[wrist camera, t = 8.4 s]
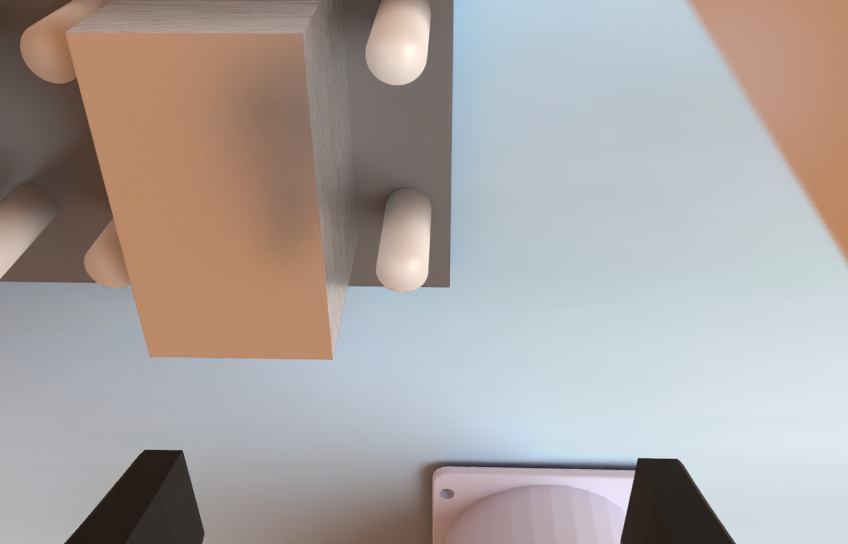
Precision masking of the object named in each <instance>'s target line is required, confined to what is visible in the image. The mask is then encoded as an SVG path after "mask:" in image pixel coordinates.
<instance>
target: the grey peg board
mask: <svg viewBox="0 0 848 544" xmlns="http://www.w3.org/2000/svg"><path fill="white" fill-rule="evenodd" d="M110 1H112V0H0V281H10V282H84V283H99V284H101V285H103V286H105V287H109V288H123V287H126V286H128V285H130V284H131V283H130V279H129V275H128V272H127V268H126V264H125V260H124V256H123V252H122V249H121V245H120V241H119V237H118V233H117V229H116V226H115V222H114V218H113V214H112V210H111V207H110V203H109V199H108V195H107V191H106V187H105V184H104V180H103V176H102V172H101V168H100V164H99V161H98V157H97V153H96V149H95V145H94V141H93V138H92V134H91V130H90V126H89V122H88V118H87V115H86V111H85V107H84V103H83V99H82V96H81V92H80V88H79V84H78V80H77V76H76V73H75V69H74V65H73V61H72V57H71V53H70V50H69V46H68V42H67V38H66V34H65V32H67V31H68V30H70V29H71V28H73V27H74V26H75V25H77V24H78V23H80V22H81V21H83V20H84V19H86V18H87V17H89V16H90V15H91V14H93V13H94V12H96V11H97V10H99V9H100V8H102V7H103V6H105V5H106V4H108V3H109V2H110ZM342 4H343V19H344V35H345V51H346V67H347V82H348V98H349V114H350V130H351V145H352V161H353V177H354V193H355V208H356V224H357V245H356V250H355V255H354V260H353V265H352V270H351V274H350V279H349V284H348V286H382V287H386V288H388V289H390V290H392V291H396V292H410V291H413V290H416V289H418V288H419V287H450V221H451V146H452V72H453V0H342Z"/></svg>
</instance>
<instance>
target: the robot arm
mask: <svg viewBox="0 0 848 544" xmlns="http://www.w3.org/2000/svg"><path fill="white" fill-rule="evenodd" d="M443 489H450V490H443ZM432 506H433V544H736V543H735V542H734V540H733V539H732V538H731V536H730V535H729V533H728V532H727V530H726V529H725V527H724V526H723V524H722V523H721V522H720V520H719V519H718V517H717V516H716V514H715V513H714V511H713V510H712V508H711V507H710V505H709V504H708V502H707V501H706V499H705V498H704V496H703V495H702V493H701V492H700V490H699V489H698V487H697V486H696V484H695V482H694V481H693V479H692V478H691V476H690V475H689V473H688V471H687V470H686V468H685V467H684V465H683V464H682V463H681V462H680V461H679V460H678V459H652V458H638V461H637V466H636V470H593V469H545V468H498V467H450V466H447V467H441V468H439V469H437V470H436V471H435V472H434V473H433V482H432ZM203 537H204V529H203V525H202V522H201V518H200V514H199V510H198V507H197V503H196V499H195V495H194V491H193V488H192V484H191V480H190V476H189V472H188V469H187V465H186V461H185V457H184V453H183V450H144V451H143V452H142V453H141V454H140V455H139V456H138V457H137V458H136V460H135V461H134V462H133V463H132V464H131V466H130V467H129V468H128V469H127V470H126V472H125V473H124V474H123V475H122V477H121V478H120V479H119V480H118V481H117V483H116V484H115V485H114V486H113V487H112V489H111V490H110V491H109V492H108V493H107V495H106V496H105V497H104V498H103V499H102V501H101V502H100V503H99V504H98V505H97V507H96V508H95V509H94V510H93V511H92V512H91V514H90V515H89V516H88V517H87V518H86V519H85V521H84V522H83V523H82V524H81V525H80V526H79V528H78V529H77V530H76V531H75V532H74V533H73V534H72V535H71V537H70V538H69V539H68V540H67V541H66V542H65V543H64V544H202V542H203Z"/></svg>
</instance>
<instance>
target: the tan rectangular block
mask: <svg viewBox="0 0 848 544" xmlns="http://www.w3.org/2000/svg"><path fill="white" fill-rule="evenodd" d="M65 34H66V38H67V42H68V46H69V50H70V53H71V57H72V61H73V65H74V69H75V73H76V76H77V80H78V84H79V88H80V92H81V96H82V99H83V103H84V107H85V111H86V115H87V118H88V122H89V126H90V130H91V134H92V138H93V141H94V145H95V149H96V153H97V157H98V161H99V164H100V168H101V172H102V176H103V180H104V184H105V187H106V191H107V195H108V199H109V203H110V207H111V210H112V214H113V218H114V222H115V226H116V229H117V233H118V237H119V241H120V245H121V249H122V252H123V256H124V260H125V264H126V268H127V272H128V275H129V279H130V283H131V287H132V291H133V295H134V298H135V302H136V306H137V310H138V314H139V317H140V321H141V325H142V329H143V333H144V337H145V340H146V344H147V348H148V352H149V356H150V357H202V358H263V359H323V360H333V357H334V352H335V347H336V342H337V337H338V333H339V328H340V323H341V318H342V313H343V308H344V304H345V299H346V294H347V289H348V284H349V279H350V274H351V270H352V265H353V260H354V255H355V250H356V245H357V224H356V208H355V193H354V177H353V161H352V145H351V130H350V114H349V98H348V82H347V67H346V51H345V35H344V19H343V4H342V0H112V1H110V2H109V3H108V4H106V5H105V6H103V7H102V8H100V9H99V10H97V11H96V12H94V13H93V14H91V15H90V16H89V17H87V18H86V19H84V20H83V21H81V22H80V23H78V24H77V25H75V26H74V27H73V28H71V29H70V30H68V31H67V32H65Z"/></svg>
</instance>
